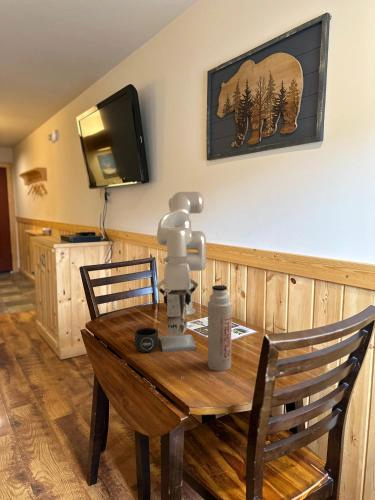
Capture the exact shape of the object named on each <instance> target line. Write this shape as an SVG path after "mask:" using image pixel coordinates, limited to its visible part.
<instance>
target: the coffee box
mask: <svg viewBox="0 0 375 500" xmlns="http://www.w3.org/2000/svg"><path fill="white" fill-rule="evenodd" d="M186 294H187V291H186V290H172V291H169V292H168V293H167V306H166V307H167V308H166V316H167V317H166V321H167V322H166V323H167V325H166V326H167V328H166V330H167V333H166V334H167V335H169V336H176V335H185V332H186V330H187V329H188V315H187V303H186Z"/></svg>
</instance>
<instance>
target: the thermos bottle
mask: <svg viewBox="0 0 375 500" xmlns="http://www.w3.org/2000/svg"><path fill="white" fill-rule="evenodd" d="M211 289H212V293H211V295H210V296H209V301H208V302H207V367H208V369H210V370H213V371H217V372H219V371H220V372H223V371H227V370H229V369H231V366H232V302H231V299H230V295H228V287H227V286H226V285H219V284H218V285H217V284H216V285H212V287H211Z"/></svg>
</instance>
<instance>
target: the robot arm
mask: <svg viewBox="0 0 375 500" xmlns="http://www.w3.org/2000/svg"><path fill="white" fill-rule="evenodd" d="M204 206H205V204H204V197H203V194H202V193H201V192H198V191H179V192H175V193H174V194H173V195H172V197H170V198H169V200H168V207H169V211H170V212H168V213H166V214H165V215H164V216H163V217H162V218H161V219H160V220H159V222H158V227H157V232H156V240H157V243H158V244H159V245H160V246H166V257H163V262H165V263H166V264H165V266H164V275H163V279H162V280H161V281H160V282H157V284H155V286H156V289H157V290H158V292H160V294H161V295H163V304H165V307H167V294H168V293H169V292H170V291H172V290H186V291H187V294H186V303H187V316H191V315H194V314H195V313H196V309H195V308H194V307H193V293H194V292H195V291H196V289H197V287H198V286H199V283H198V282H196V281H195V280H193V277H192V276H191V271H194V272H197V271H198V272H200V271H205V269H206V267H207V240H206V238H207V237H206V234H205V233H204V232H203V231H201V230H200V231H199V230H192V220H191V219H190V214H201V213H203V211H204ZM187 250H188V251H189V250H191V252H190V251H189V252H188V251H187ZM193 250H194V251H193ZM195 250H196V251H195ZM192 251H193V252H192ZM163 285H164V289H163V288H162V286H163Z"/></svg>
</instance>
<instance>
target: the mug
mask: <svg viewBox="0 0 375 500" xmlns="http://www.w3.org/2000/svg"><path fill="white" fill-rule="evenodd" d="M158 346H159V331H158V329H156V328H153V327H141V328H138V329H136V330H134V347H135V349H136V351H139V352H142V353H150V352H152V351H155V350H156V349H157V348H158Z"/></svg>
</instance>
